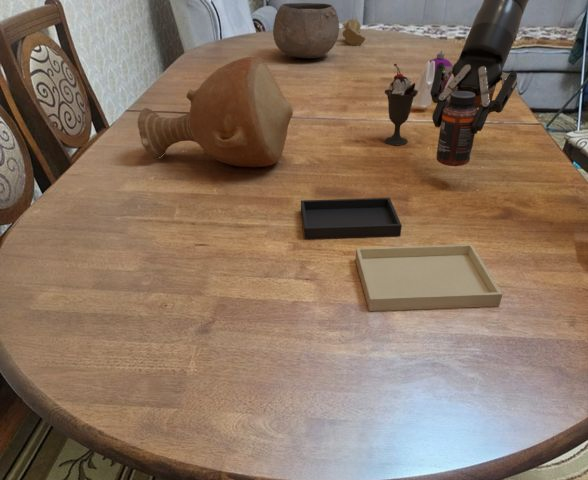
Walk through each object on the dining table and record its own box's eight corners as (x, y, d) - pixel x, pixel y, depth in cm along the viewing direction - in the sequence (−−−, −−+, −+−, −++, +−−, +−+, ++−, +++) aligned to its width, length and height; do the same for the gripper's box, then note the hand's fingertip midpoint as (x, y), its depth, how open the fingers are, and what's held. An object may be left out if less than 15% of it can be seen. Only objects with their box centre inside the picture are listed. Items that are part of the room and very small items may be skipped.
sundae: (378, 136, 120) (385, 60, 111) (409, 136, 120) (418, 60, 111) (381, 146, 115) (388, 69, 106) (413, 146, 115) (423, 68, 106)
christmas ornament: (422, 86, 151) (427, 45, 144) (452, 88, 149) (459, 47, 142) (417, 94, 145) (422, 52, 138) (448, 96, 143) (455, 54, 136)
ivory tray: (469, 255, 81) (472, 243, 80) (499, 306, 71) (502, 294, 70) (355, 259, 80) (356, 247, 79) (369, 311, 70) (370, 299, 69)
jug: (278, 126, 90) (112, 140, 96) (300, 186, 108) (159, 194, 114) (285, 25, 94) (126, 44, 101) (305, 99, 112) (169, 111, 119)
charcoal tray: (388, 208, 93) (389, 197, 92) (400, 236, 85) (401, 225, 84) (300, 210, 93) (300, 200, 91) (304, 239, 85) (304, 228, 84)
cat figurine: (345, 27, 186) (343, 10, 192) (338, 47, 191) (336, 30, 198) (367, 34, 188) (365, 17, 194) (360, 54, 193) (357, 37, 200)
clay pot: (269, 52, 184) (267, 0, 175) (329, 49, 187) (331, -3, 178) (279, 67, 169) (278, 11, 159) (345, 64, 171) (347, 8, 162)
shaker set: (407, 112, 133) (413, 62, 126) (408, 107, 136) (414, 58, 129) (457, 115, 131) (466, 64, 124) (457, 110, 134) (466, 60, 127)
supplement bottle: (476, 160, 98) (489, 93, 90) (457, 170, 94) (469, 101, 87) (447, 152, 101) (458, 86, 94) (428, 161, 98) (438, 94, 91)
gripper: (447, 17, 92) (410, 109, 92) (535, 24, 86) (495, 123, 86) (453, 46, 99) (419, 132, 99) (535, 54, 93) (498, 146, 93)
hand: (454, 127), depth 93 cm, fingers closed on supplement bottle, 6 cm apart
